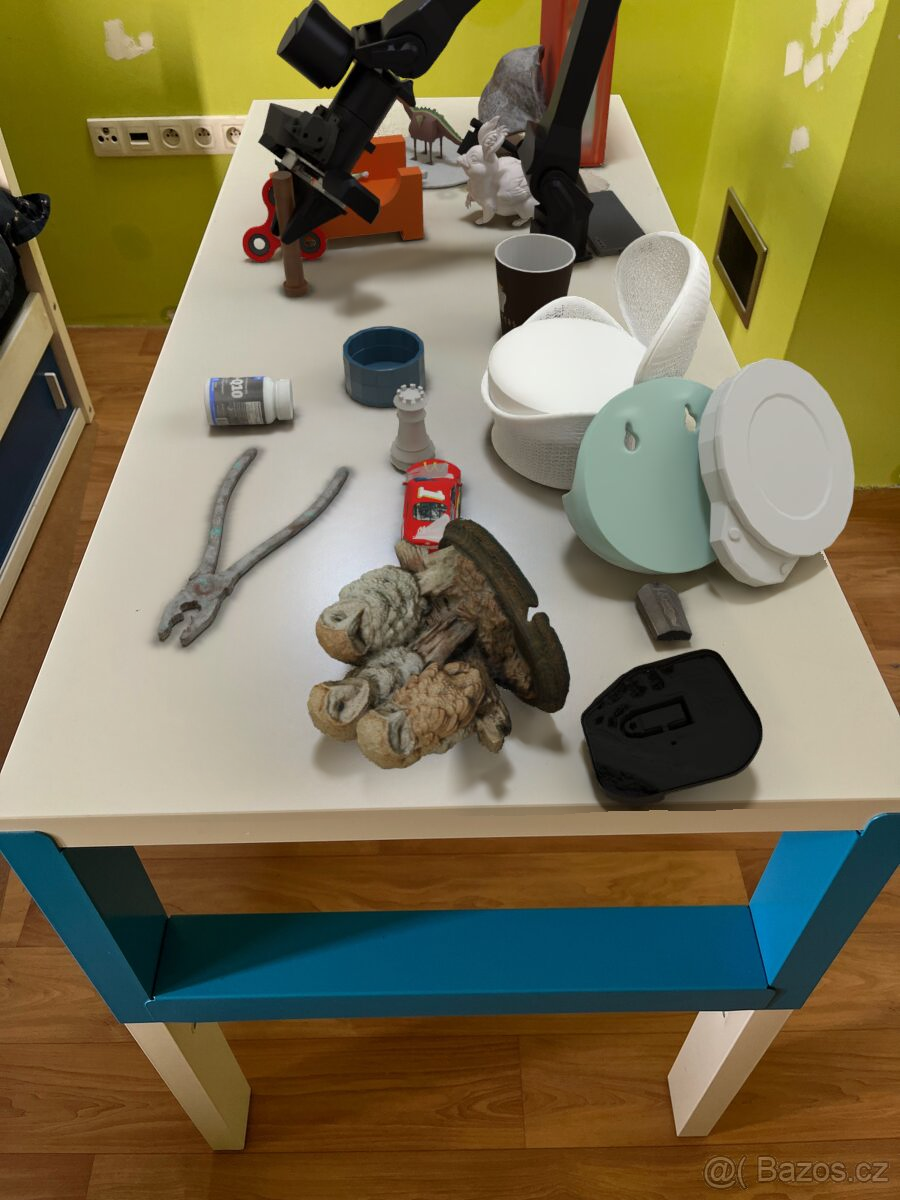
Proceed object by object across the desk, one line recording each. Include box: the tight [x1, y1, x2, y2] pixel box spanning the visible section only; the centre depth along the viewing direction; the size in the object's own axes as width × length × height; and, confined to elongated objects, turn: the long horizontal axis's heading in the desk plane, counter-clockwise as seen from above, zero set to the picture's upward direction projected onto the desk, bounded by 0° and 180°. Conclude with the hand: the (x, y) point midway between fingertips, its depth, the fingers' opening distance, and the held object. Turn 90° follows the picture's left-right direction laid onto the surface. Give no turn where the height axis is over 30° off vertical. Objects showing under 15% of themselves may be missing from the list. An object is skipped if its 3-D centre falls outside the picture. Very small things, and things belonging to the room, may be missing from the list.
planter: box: [561, 376, 719, 575], centre depth 86 cm, size 19×7×16 cm
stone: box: [579, 168, 611, 193], centre depth 139 cm, size 8×14×2 cm, turn 39°
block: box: [634, 581, 693, 642], centre depth 81 cm, size 4×6×2 cm, turn 10°
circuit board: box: [469, 126, 523, 154], centre depth 149 cm, size 8×8×1 cm
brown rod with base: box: [272, 171, 310, 298], centre depth 115 cm, size 3×3×14 cm
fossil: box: [477, 44, 547, 138], centre depth 141 cm, size 15×14×10 cm
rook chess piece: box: [389, 384, 437, 473], centre depth 94 cm, size 4×4×8 cm
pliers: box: [157, 446, 349, 646], centre depth 88 cm, size 11×1×25 cm
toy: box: [241, 177, 327, 263], centre depth 122 cm, size 10×10×1 cm
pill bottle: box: [203, 375, 294, 426], centre depth 100 cm, size 5×5×8 cm
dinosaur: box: [395, 75, 469, 189], centre depth 141 cm, size 18×18×11 cm
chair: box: [480, 230, 712, 491], centre depth 91 cm, size 20×20×20 cm
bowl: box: [342, 325, 426, 408], centre depth 104 cm, size 8×8×4 cm
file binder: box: [539, 0, 620, 167], centre depth 138 cm, size 8×17×32 cm, turn 4°
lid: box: [698, 357, 856, 588], centre depth 85 cm, size 17×20×3 cm
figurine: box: [456, 116, 540, 227], centre depth 128 cm, size 8×15×13 cm, turn 106°
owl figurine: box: [306, 516, 571, 770], centre depth 72 cm, size 18×12×17 cm
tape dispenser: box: [268, 134, 425, 243], centre depth 128 cm, size 18×13×8 cm
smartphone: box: [587, 189, 652, 257], centre depth 130 cm, size 7×1×15 cm
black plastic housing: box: [580, 648, 764, 807], centre depth 72 cm, size 12×10×5 cm
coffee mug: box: [494, 233, 576, 338], centre depth 110 cm, size 12×9×10 cm
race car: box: [400, 458, 463, 553], centre depth 89 cm, size 13×5×4 cm, turn 177°
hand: (278, 238), depth 114 cm, fingers closed on brown rod with base, 2 cm apart
